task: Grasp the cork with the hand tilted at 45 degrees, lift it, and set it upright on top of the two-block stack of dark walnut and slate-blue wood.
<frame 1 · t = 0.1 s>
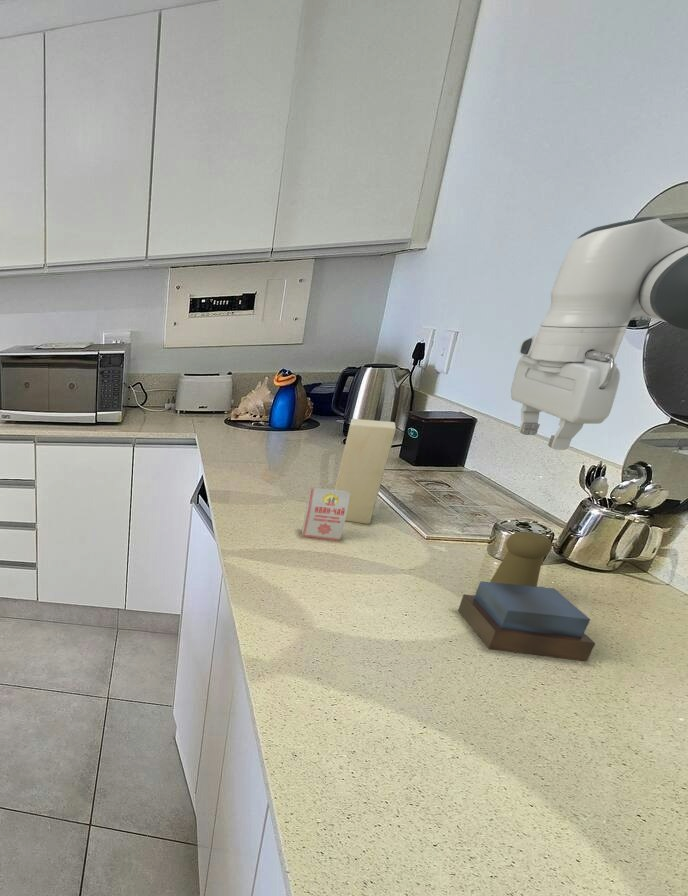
hand: (541, 441, 89), 25 cm above the table, tool pointing down, fingers open, 8 cm apart
cork: (508, 596, 95), on the table
block stack: (517, 634, 85), on the table
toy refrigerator: (349, 516, 129), on the table
tea bag: (320, 536, 120), on the table
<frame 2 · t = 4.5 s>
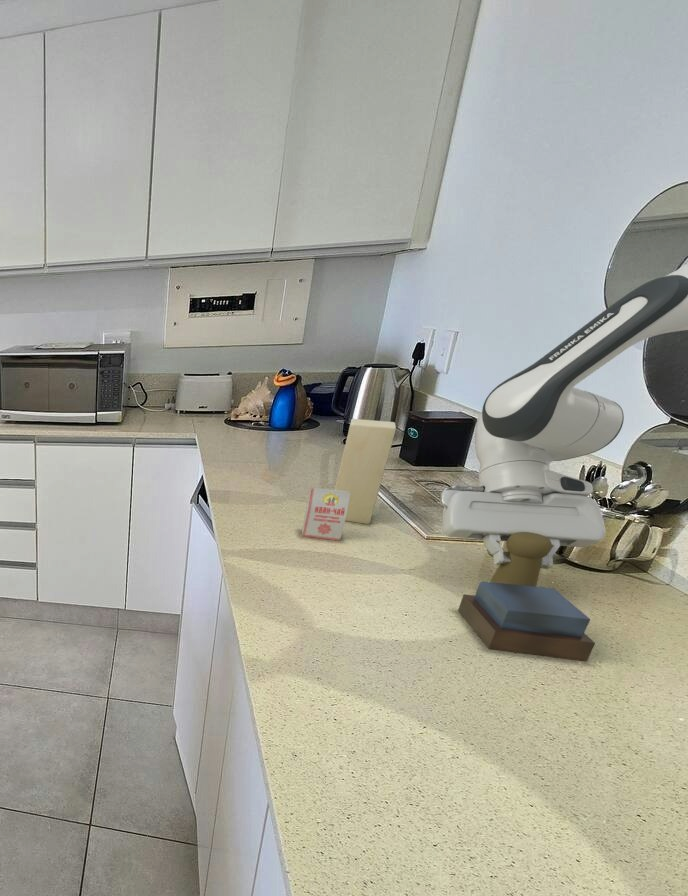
hand: (523, 565, 92), 6 cm above the table, tool tilted 45°, fingers closed on cork, 4 cm apart
cork: (508, 596, 95), on the table, touching gripper
everything else where it was.
when the fingers open (12 cm above the table, at t = 11.4 s): cork stays where it is, resting on block stack.
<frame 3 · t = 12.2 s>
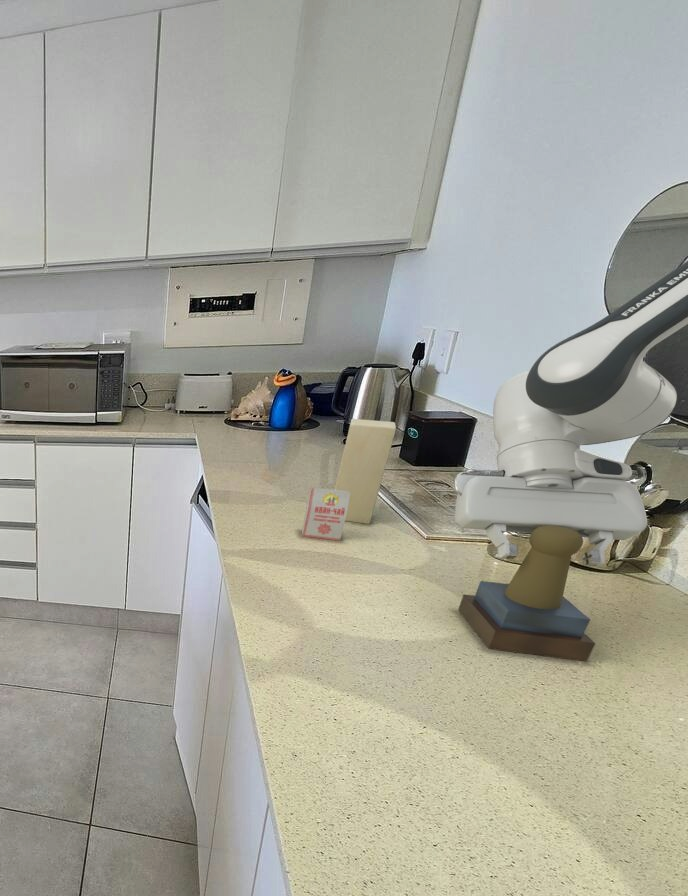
hand: (550, 561, 80), 12 cm above the table, tool tilted 45°, fingers open, 8 cm apart
cork: (531, 599, 83), point 6 cm above the table, touching block stack
everything else where it was.
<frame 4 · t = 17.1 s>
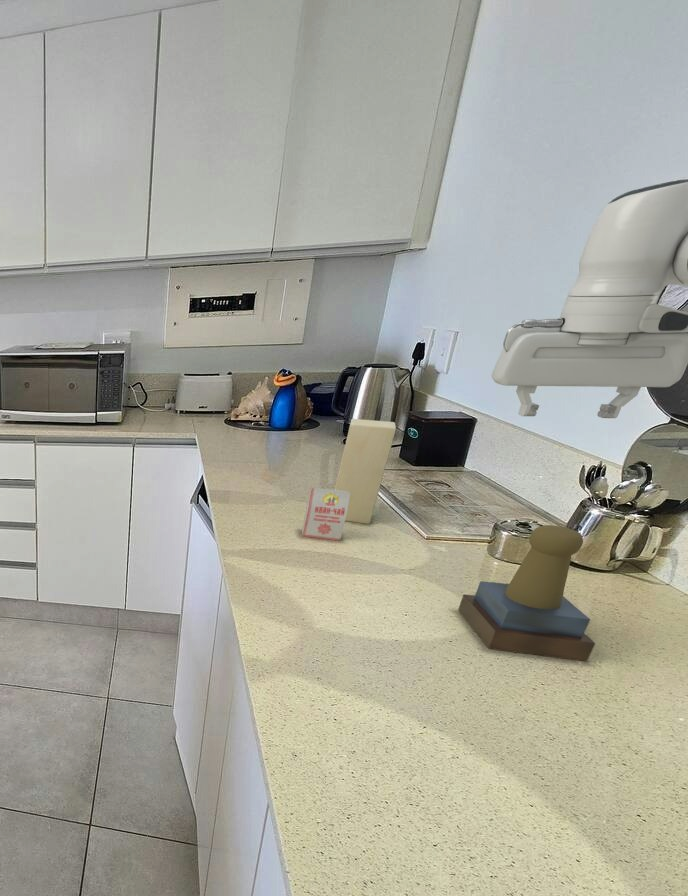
hand: (565, 416, 86), 29 cm above the table, tool pointing down, fingers open, 8 cm apart
nothing on the table moved.
at the end: cork 0.0 cm off-centre on the block stack, point 5.8 cm above the block stack's base; cork tilted 0°; the gripper is holding nothing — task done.
